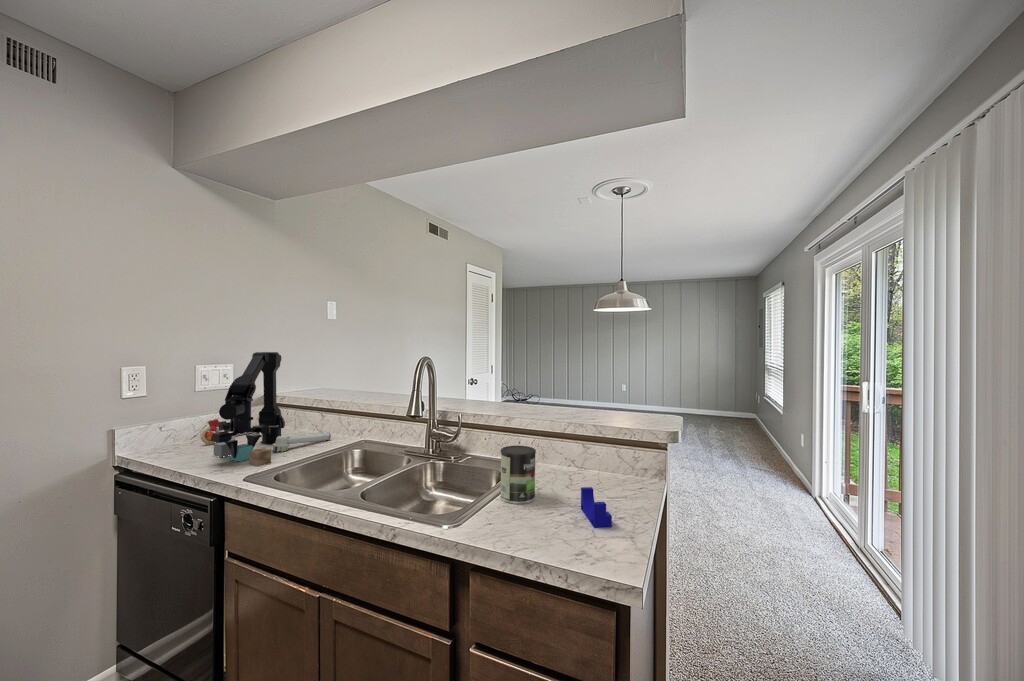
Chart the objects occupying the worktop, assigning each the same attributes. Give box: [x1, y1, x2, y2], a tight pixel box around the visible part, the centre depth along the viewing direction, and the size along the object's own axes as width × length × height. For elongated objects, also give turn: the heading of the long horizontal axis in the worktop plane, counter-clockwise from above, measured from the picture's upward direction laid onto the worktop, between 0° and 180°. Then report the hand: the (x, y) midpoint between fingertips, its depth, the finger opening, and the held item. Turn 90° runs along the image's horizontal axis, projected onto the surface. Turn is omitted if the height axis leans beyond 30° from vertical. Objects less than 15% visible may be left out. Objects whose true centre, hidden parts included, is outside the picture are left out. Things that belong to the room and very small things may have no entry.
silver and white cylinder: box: [272, 431, 332, 453], centre depth 178 cm, size 5×7×25 cm
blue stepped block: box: [580, 486, 613, 529], centre depth 109 cm, size 12×4×6 cm, turn 6°
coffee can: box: [500, 445, 537, 505], centre depth 123 cm, size 10×10×14 cm
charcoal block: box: [213, 442, 231, 457], centre depth 162 cm, size 5×5×5 cm
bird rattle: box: [200, 418, 221, 446], centre depth 179 cm, size 6×11×9 cm
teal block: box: [230, 443, 254, 462], centre depth 157 cm, size 5×5×5 cm
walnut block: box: [248, 447, 272, 467], centre depth 152 cm, size 5×5×5 cm
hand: (241, 456), depth 157 cm, fingers closed on teal block, 5 cm apart
